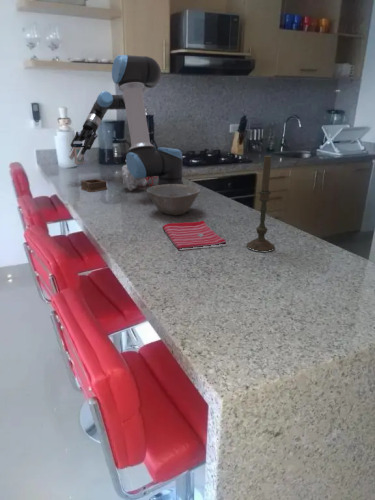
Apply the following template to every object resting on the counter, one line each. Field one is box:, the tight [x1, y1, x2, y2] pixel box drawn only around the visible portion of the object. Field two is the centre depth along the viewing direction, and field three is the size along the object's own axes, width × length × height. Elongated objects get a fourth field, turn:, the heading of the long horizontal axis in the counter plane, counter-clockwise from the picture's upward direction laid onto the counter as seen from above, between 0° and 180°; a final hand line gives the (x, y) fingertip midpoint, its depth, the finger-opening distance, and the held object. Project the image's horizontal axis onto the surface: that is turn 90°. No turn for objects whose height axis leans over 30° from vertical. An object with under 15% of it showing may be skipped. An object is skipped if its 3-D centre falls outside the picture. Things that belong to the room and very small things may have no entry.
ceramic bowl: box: [146, 183, 201, 216], centre depth 163 cm, size 22×23×10 cm
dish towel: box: [162, 220, 227, 250], centre depth 136 cm, size 17×24×3 cm
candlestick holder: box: [246, 155, 276, 251], centre depth 121 cm, size 9×9×30 cm
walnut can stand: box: [80, 178, 108, 193], centre depth 205 cm, size 10×10×4 cm
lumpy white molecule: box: [121, 159, 158, 192], centre depth 208 cm, size 20×18×25 cm
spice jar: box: [73, 141, 85, 165], centre depth 209 cm, size 5×5×12 cm
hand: (74, 158), depth 206 cm, fingers closed on spice jar, 5 cm apart
